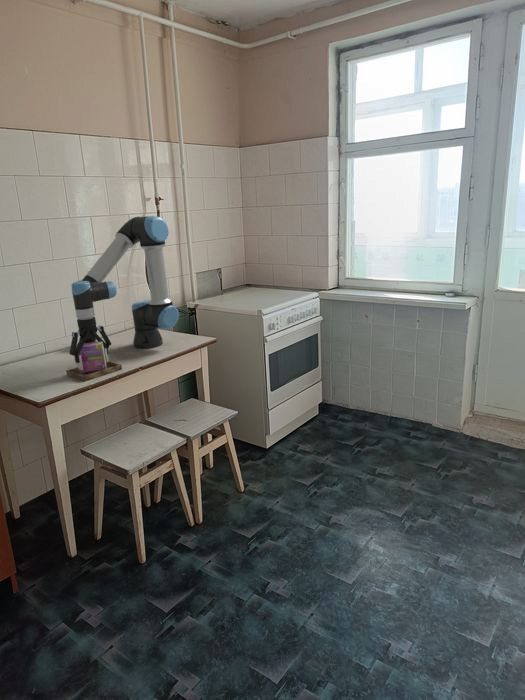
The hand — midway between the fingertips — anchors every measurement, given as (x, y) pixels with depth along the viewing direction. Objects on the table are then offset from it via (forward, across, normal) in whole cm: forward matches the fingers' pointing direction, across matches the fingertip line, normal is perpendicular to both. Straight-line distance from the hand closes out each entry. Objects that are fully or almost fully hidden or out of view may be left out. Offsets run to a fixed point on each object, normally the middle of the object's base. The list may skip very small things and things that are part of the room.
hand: (93, 365), depth 220 cm
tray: (+3, 0, 0) cm, 3 cm away
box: (+2, 0, 0) cm, 2 cm away
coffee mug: (+3, -21, -42) cm, 47 cm away
